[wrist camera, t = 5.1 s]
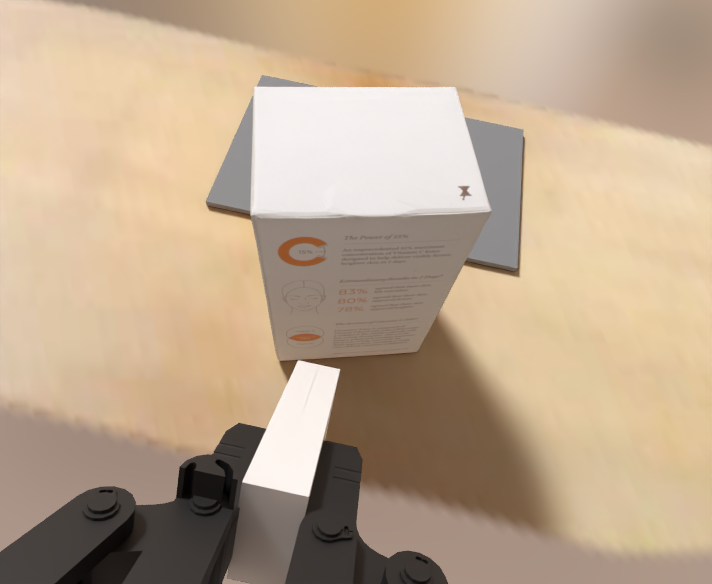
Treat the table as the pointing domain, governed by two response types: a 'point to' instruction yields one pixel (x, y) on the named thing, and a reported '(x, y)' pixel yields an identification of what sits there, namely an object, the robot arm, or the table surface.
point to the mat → (494, 157)
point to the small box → (361, 214)
